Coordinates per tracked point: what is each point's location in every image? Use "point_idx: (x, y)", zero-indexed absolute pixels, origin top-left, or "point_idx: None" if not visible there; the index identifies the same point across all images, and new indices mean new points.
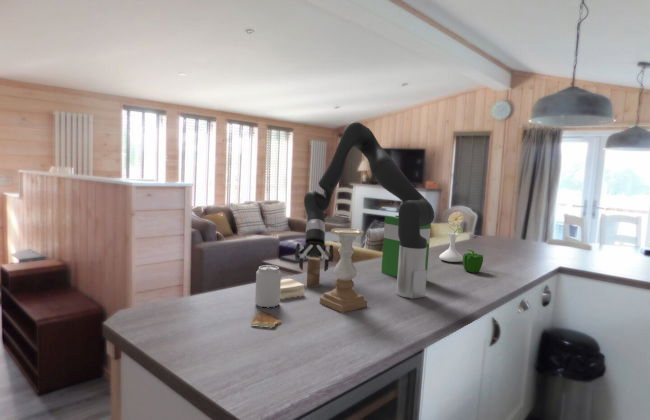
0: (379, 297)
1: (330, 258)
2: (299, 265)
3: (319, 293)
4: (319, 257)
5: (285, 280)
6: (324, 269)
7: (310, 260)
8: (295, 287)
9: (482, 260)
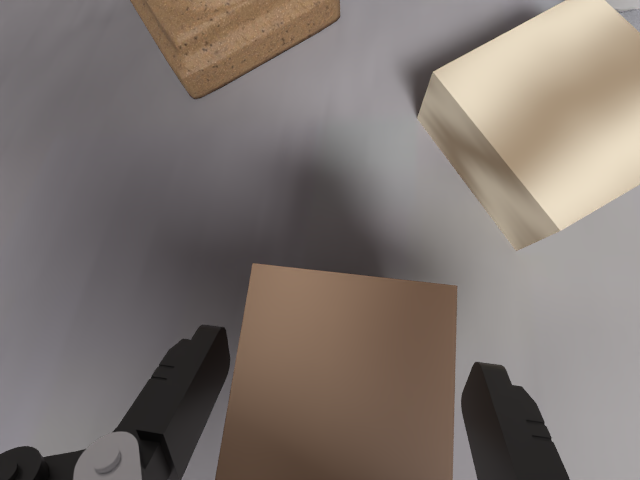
0: (8, 113)
1: (50, 471)
2: (531, 400)
3: (321, 160)
4: (238, 434)
5: (591, 166)
6: (225, 333)
7: (407, 283)
8: (493, 42)
9: None
